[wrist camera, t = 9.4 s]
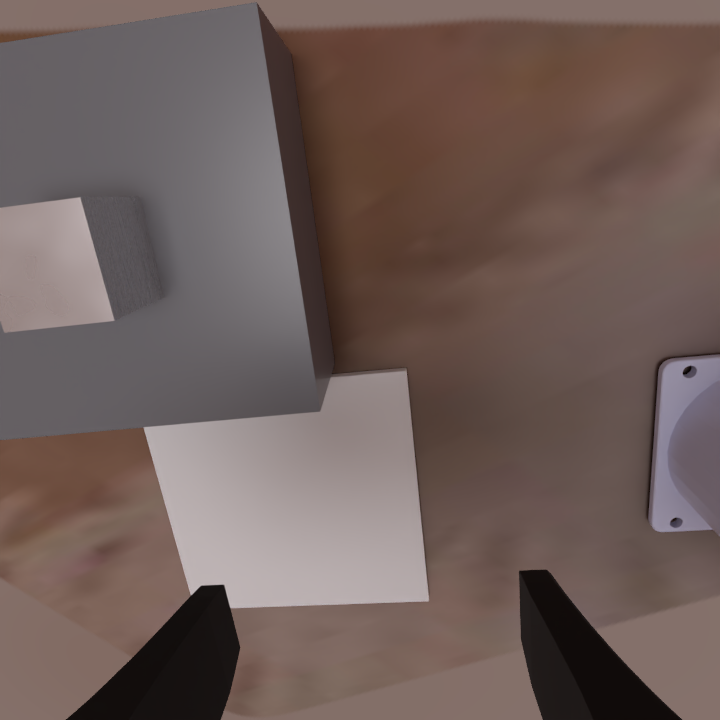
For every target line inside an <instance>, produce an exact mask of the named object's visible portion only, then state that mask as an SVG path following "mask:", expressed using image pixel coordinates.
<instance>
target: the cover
mask: <svg viewBox="0 0 720 720" xmlns="http://www.w3.org/2000/svg"><path fill="white" fill-rule="evenodd" d="M334 364H335V361H334V353H333V346H332V339H331V332H330V325H329V318H328V311H327V304H326V297H325V290H324V283H323V275H322V268H321V261H320V254H319V247H318V240H317V233H316V226H315V219H314V212H313V205H312V197H311V190H310V183H309V176H308V169H307V162H306V155H305V148H304V141H303V134H302V127H301V120H300V112H299V105H298V98H297V91H296V84H295V77H294V70H293V63H292V56H291V53H290V51H289V50H288V48H287V47H286V45H285V44H284V42H283V41H282V39H281V38H280V36H279V35H278V33H277V32H276V30H275V29H274V27H273V26H272V24H271V23H270V22H269V20H268V19H267V17H266V16H265V14H264V13H263V11H262V10H261V8H260V7H259V5H258V4H257V2H256V3H250V4H243V5H237V6H230V7H224V8H218V9H212V10H205V11H199V12H193V13H187V14H180V15H174V16H168V17H162V18H155V19H149V20H143V21H136V22H130V23H124V24H118V25H111V26H105V27H99V28H93V29H86V30H80V31H74V32H67V33H61V34H55V35H49V36H42V37H36V38H30V39H24V40H17V41H11V42H5V43H0V440H7V439H18V438H29V437H41V436H52V435H63V434H74V433H85V432H97V431H108V430H119V429H130V428H142V427H153V426H164V425H175V424H187V423H198V422H209V421H220V420H231V419H243V418H254V417H265V416H276V415H288V414H299V413H310V412H320V411H321V408H322V404H323V401H324V398H325V394H326V391H327V388H328V384H329V381H330V377H331V374H332V371H333V367H334Z"/></svg>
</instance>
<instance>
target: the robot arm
mask: <svg viewBox="0 0 720 720" xmlns="http://www.w3.org/2000/svg"><path fill="white" fill-rule="evenodd" d="M687 366H691V371H690V372H689V373H688V374H685V375H683V370H684V369H685V368H686V367H687ZM673 518H677V520H676V521H674V522H670V521H671V520H672V519H673ZM648 520H649V523H650V525H651V526H652V527H653V528H654V530H656V531H658V532H677V531H698V530H714V531H715V532H716V533H717V534H718V535H719V537H720V354H717V355H705V356H694V357H682V358H672V359H668V360H666V361H665V362H663V363H662V364H661V366H660V368H659V371H658V385H657V400H656V414H655V429H654V443H653V458H652V473H651V487H650V502H649V516H648ZM519 581H520V619H521V641H522V645H523V650H524V654H525V658H526V663H527V667H528V672H529V676H530V680H531V684H532V688H533V691H534V694H535V697H536V700H537V703H538V706H539V709H540V712H541V715H542V718H543V720H682V719H681V718H680V717H679V716H678V715H676V714H675V713H674V712H673V711H672V710H671V709H670V708H669V707H668V706H667V705H666V704H665V703H664V702H663V701H662V700H661V699H660V698H659V697H657V695H655V694H654V692H652V691H651V690H650V689H649V688H648V687H647V686H646V685H645V684H644V683H643V682H642V681H641V679H640V678H639V677H638V676H637V675H636V674H635V673H634V672H633V671H632V670H631V669H630V668H629V667H628V666H627V665H626V664H625V663H624V662H623V661H622V660H621V658H620V657H619V656H618V655H617V654H616V653H615V652H614V651H613V650H612V649H611V647H610V646H609V645H608V644H607V643H606V642H605V641H604V639H603V638H602V637H601V636H600V635H599V634H598V633H597V631H596V630H595V629H594V628H593V627H592V626H591V625H590V623H589V622H588V621H587V620H586V619H585V617H584V616H583V615H582V614H581V612H580V611H579V610H578V609H577V607H576V606H575V605H574V604H573V603H572V601H571V600H570V599H569V597H568V596H567V595H566V594H565V592H564V591H563V590H562V588H561V587H560V586H559V584H558V583H557V582H556V580H555V579H554V577H553V576H552V575H551V573H549V572H548V571H547V570H527V571H519ZM239 651H240V645H239V641H238V637H237V633H236V629H235V625H234V621H233V617H232V613H231V609H230V605H229V602H228V598H227V594H226V590H225V586H224V585H202V586H200V587H199V588H198V589H197V590H196V591H195V592H194V593H193V594H192V595H191V596H190V597H189V599H188V600H187V601H186V602H185V603H184V604H183V605H182V606H181V607H180V608H179V609H178V610H177V611H176V613H175V614H174V615H173V616H172V617H171V618H170V619H169V620H168V621H167V622H166V623H165V624H164V625H163V626H162V628H161V629H160V630H159V631H158V632H157V633H156V634H155V635H154V636H153V637H152V638H151V639H150V640H149V641H148V642H147V643H146V644H145V645H144V646H143V647H142V649H141V650H140V651H139V652H138V653H137V654H136V655H135V656H134V657H133V658H132V659H131V660H130V661H129V662H128V663H127V664H126V665H125V666H123V667H122V669H120V670H119V671H118V672H117V673H116V674H115V675H114V676H113V677H112V678H111V679H110V680H109V681H108V682H107V683H106V684H105V685H104V686H103V687H102V688H101V689H100V690H99V691H98V692H97V693H96V694H95V695H93V696H92V698H90V699H89V700H88V701H87V702H86V703H85V704H84V705H82V706H81V707H80V708H79V709H78V710H77V711H76V712H74V713H73V714H72V715H71V716H70V717H69V718H68V719H66V720H221V717H222V714H223V711H224V708H225V706H226V703H227V700H228V697H229V694H230V690H231V686H232V682H233V678H234V674H235V669H236V664H237V660H238V655H239Z"/></svg>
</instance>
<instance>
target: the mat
mask: <svg viewBox="0 0 720 720" xmlns="http://www.w3.org/2000/svg"><path fill="white" fill-rule="evenodd" d="M144 431H145V434H146V438H147V441H148V445H149V448H150V452H151V455H152V459H153V463H154V466H155V470H156V473H157V477H158V480H159V484H160V487H161V491H162V495H163V498H164V502H165V505H166V509H167V512H168V516H169V519H170V523H171V526H172V530H173V534H174V537H175V541H176V544H177V548H178V551H179V555H180V558H181V562H182V566H183V569H184V573H185V576H186V580H187V583H188V587H189V590H190V594H191V595H192V594H193V593H194V592H195V591H196V590H197V589H198V588H199V587H200V586H202V585H224V586H225V590H226V594H227V598H228V602H229V605H230V608H249V607H278V606H306V605H335V604H363V603H391V602H420V601H429V594H428V584H427V574H426V564H425V553H424V543H423V533H422V522H421V512H420V502H419V492H418V481H417V471H416V461H415V451H414V440H413V430H412V420H411V410H410V399H409V389H408V379H407V369H406V368H396V369H385V370H374V371H362V372H351V373H339V374H331V377H330V381H329V384H328V388H327V391H326V394H325V398H324V401H323V404H322V408H321V411H320V412H310V413H299V414H288V415H276V416H265V417H254V418H243V419H231V420H220V421H209V422H198V423H187V424H175V425H164V426H153V427H144Z"/></svg>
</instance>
